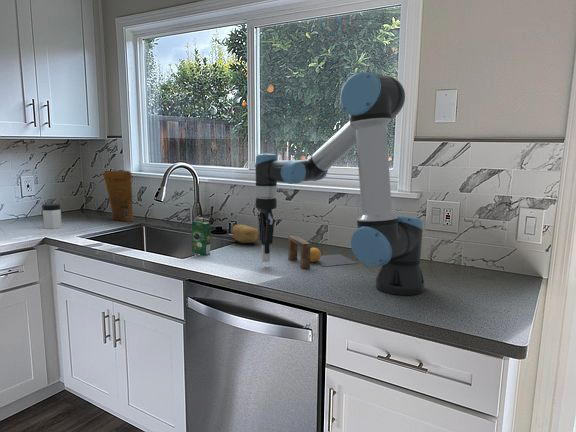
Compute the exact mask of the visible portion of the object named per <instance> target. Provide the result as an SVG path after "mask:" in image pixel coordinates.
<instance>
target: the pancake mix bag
mask: <svg viewBox="0 0 576 432" xmlns="http://www.w3.org/2000/svg"><path fill="white" fill-rule="evenodd" d="M102 177H103V180H104V184H105V188H106V191H107V196H108V200H109V206H110V209H111V213H112V214H111V215H112V216H111V220H112V221H120V222H125V223H126V222H129V223H130V222H134V216H133V188H132V184H133V183H132V181H133V180H132V172H131V171H127V170H113V171H112V170H104V172H102Z"/></svg>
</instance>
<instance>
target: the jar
mask: <svg viewBox="0 0 576 432" xmlns="http://www.w3.org/2000/svg"><path fill="white" fill-rule="evenodd" d="M41 210H42V211H41V212H42V222H43V229H44V230H55V229H60V228H62V227H63V225H62V212H61V211H62V210H61V204H60V203H57V202H56V203H54V202H53V203H51V202H50V203H43V204H42V205H41Z"/></svg>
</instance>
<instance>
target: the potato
mask: <svg viewBox="0 0 576 432" xmlns="http://www.w3.org/2000/svg"><path fill="white" fill-rule="evenodd" d="M231 234H232V237H233V238H234V239H235V240H236V241H238V242H239V243H241V244H252V243H253V242H255V241H257V239H258V238H259V236H260V235H259V229H257V228H255V227H252V226H250V225H245V224H235V225H234V226H233V227H232V228H231Z"/></svg>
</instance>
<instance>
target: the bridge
mask: <svg viewBox="0 0 576 432" xmlns="http://www.w3.org/2000/svg"><path fill="white" fill-rule="evenodd" d="M287 241H288V243H287V244H288V247H287V248H288V252H287V254H288V257H287V259H288V261H296V260H297V261H298V246H299V247H300V260H299V261H300V262H299V263H300V265H299V266H300V268H301V270H306V269H311V261H310V248H312V247H311V246H312V245H311V242H308V241H307V240H305V239H303V238H301V237H299V236H298V235H296V234H295V235H288V240H287Z"/></svg>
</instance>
